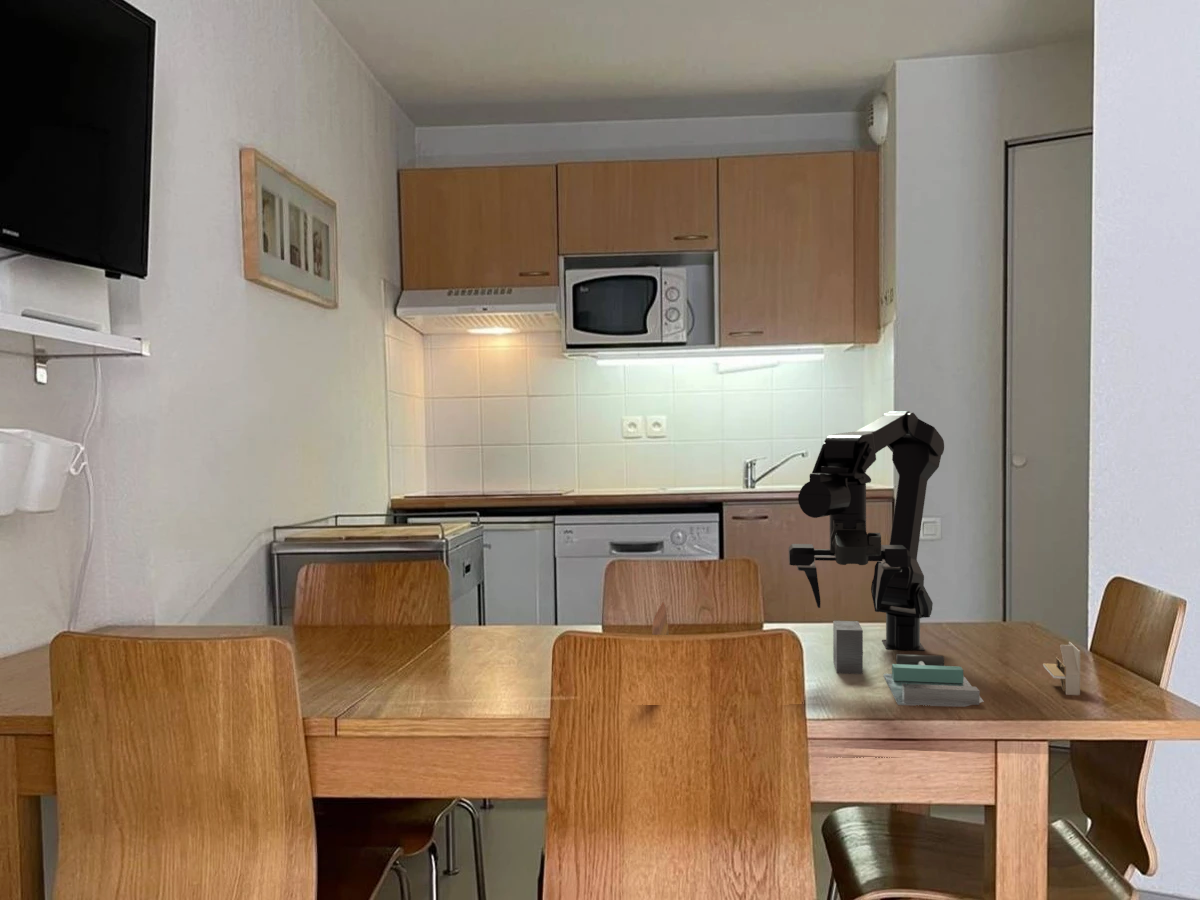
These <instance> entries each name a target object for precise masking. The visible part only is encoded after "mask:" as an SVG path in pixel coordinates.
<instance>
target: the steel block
mask: <svg viewBox="0 0 1200 900" xmlns="http://www.w3.org/2000/svg"><path fill="white" fill-rule="evenodd" d="M832 626H833V628H832V631H833V632H832V633H833V642H832V643H833V646H832V649H833V651H832V654H833V656H832V657H833V659H832V660H833V661H832V662H833V665H834V670H835V671H836V674H849V675H850V674H851V675H852V674H853V675H857V674H858V675H863V673H864V667H863V666H864V664H863V663H864V659H863V658H864V657H863V655H864V653H863V652H864V651H863V650H864V649H863V648H864V647H863V645H864V643H863V642H864V641H863V639H864V638H863V636H864V635H863V631H864V630H863V629H862V626H861V624H860V621H859V620H858V621H857V620H856V621H855V620H833V621H832Z"/></svg>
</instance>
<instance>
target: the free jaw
mask: <svg viewBox="0 0 1200 900" xmlns="http://www.w3.org/2000/svg"><path fill="white" fill-rule="evenodd" d="M895 659H896V660H895V661H896V663H892V664H891V674H892V678H893V680H894V681H915V682H941V683H963V677H964V669H963V667H962V666H961V665H960V666H955V665H953V666H952V665H945V657H944V655H934V654H933V655H930V654H904V653H903V654H902V653H900V654H899V653H896V658H895Z"/></svg>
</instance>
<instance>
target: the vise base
mask: <svg viewBox="0 0 1200 900" xmlns="http://www.w3.org/2000/svg"><path fill="white" fill-rule="evenodd" d="M882 675H883V679H884V681H885V682H886V685H887V687H888V688H889V690H890V692H891V694H892V696H893V698H894V700H895V702H896V704H897V705H898V706H916V705H918V706H919V705H923V707H925V706H926V707H955V708H957V707H959V708H960V707H963V708H964V707H965V708H966V707H969V706H980V703H984V702H985V701H984V700H983V698H982V697H981V696H980V689H979V688H978V687H977V686H972V685H971V683H970V682H969V681H968V679H967V678H966V677H965V676H963V683H941V682H915V681H894V680H893V678H892V673H883V674H882ZM924 705H925V706H924ZM927 705H928V706H927ZM929 705H930V706H929ZM918 706H917V707H918Z"/></svg>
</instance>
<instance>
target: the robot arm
mask: <svg viewBox="0 0 1200 900" xmlns="http://www.w3.org/2000/svg"><path fill="white" fill-rule="evenodd" d="M944 440H945V439H943V436H941V434H940V433H939V431H938V430H937V429H936V427H935V426H933V425H931V424H929V423H928V422H925V421H923V420H921V419H920V418H919V417H918V416H917V414H916V413H914V412H912V411H910V410H907V411H906V410H903V411H901V410H897V411H895V410H894V411H893V410H891V411H887V412H886V413H885V412H884V414H882V416H880V417H879V418H877V419H875V420H873V421H872V422H870V423H868V424H866V425H865V426H863V427H861V428H858V429H857V430H855V431H850V432H838V433H834V434H829V435H828V436H827V437H826V438H825V440H824V441H823V443H822V446H821V448H820V451H819V453H818V456H817V458H816V461H815V464H814V467H813V470H812V472H811V473H810V474H809V481H807V482H806V483H804V484H803V485H802V487H801V488H800V491H799V494H797V495H798V496H797V499H798V500H797V501H798V505H799V508H800V510H801V511H802V512H803V513H804V515H806V516H808V517H810V518H814V519H817V518H823V517H827V516H829V549H827V548H824V549H823V548H822V549H821V548H815V547H814V545H813V543H791V544H790V545H789V546H788V550H787V551H788V565H790V566H794V567H795V566H796V568H797V571H799V572H802V571H803V572H804V574H805V575H806V577H807V580H808V582H809V584H810V588H811V591H812V593H813V596H814V600H815V603H816V606H817V608H818V609H821V595H820V593H821V592H820V588H819V587H820V585H819V579H818V572H817V571H818V570H817V566H816V561H827V562H828V561H829V562H830V561H835V562H836V563H837V564H838V565H840V566H846V565H859V566H865V565H868V564H869V562H876V563H875V565H874V571H873V578H872V582H871V587H870V591H871V598H872V603H873V608H874V612H875V613H883V614H884V613H885V639H882V640H881V642H882V644H883V646H884V648H885V649H886V650H889V651H914V652H918V651H919V652H920V651H921V652H925V651H926V648H925V647H924V646H923V644H922V643H921V619H922V618H931V615H932V612H933V604H934V603H933V601H932V599H931V597H930V595H929V593H928V592H927V591H928V590H927V589H926V587H925V585H924V583H925V575H924V573H923V571H922V568H921V567H920V564H919V562H918V552H919V544H920V536H921V530H922V522H923V515H924V507H925V501H926V493H927V486H928V481H929V479H930V478H931V477H932V476H933V475H934V474H935V472H936V471H937V470H938V468H939V467H940V462H941V459H942V455H943V454H944V452H945V451H944V450H945V441H944ZM886 447H887V448H888V449H889V450H890V451H891V453H892V459H891V460H892V463H893V465H894V467H895V470H896V471H897V474H898V483H897V489H896V497H895V503H894V510H893V511H894V512H893V518H892V523H891V531H890V532H891V533H890V539H889V544H882V535H881V533H880V532H867V484H870V483H871V482H872V478H871V477H870V475H868V473H866V472H867V470H868V469H869V468H870V467H871V466H872V465H873V464H874V463H875V462H876V461H877V455H876V454H877V453H878V452H880V451H881V450H883V449H885V448H886Z"/></svg>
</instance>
